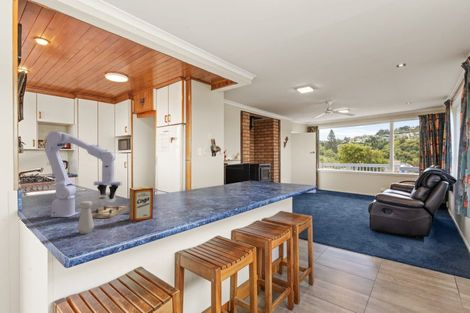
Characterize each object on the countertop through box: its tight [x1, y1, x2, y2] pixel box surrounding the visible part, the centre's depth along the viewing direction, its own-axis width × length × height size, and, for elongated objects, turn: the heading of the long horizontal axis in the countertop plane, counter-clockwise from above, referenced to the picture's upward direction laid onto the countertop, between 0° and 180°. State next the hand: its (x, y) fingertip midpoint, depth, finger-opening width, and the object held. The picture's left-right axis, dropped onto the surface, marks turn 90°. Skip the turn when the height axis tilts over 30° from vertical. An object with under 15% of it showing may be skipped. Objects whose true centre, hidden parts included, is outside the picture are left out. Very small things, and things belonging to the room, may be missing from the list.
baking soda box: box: [128, 186, 154, 223], centre depth 114 cm, size 10×6×16 cm
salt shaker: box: [77, 200, 95, 235], centre depth 93 cm, size 6×6×13 cm
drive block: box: [97, 191, 116, 206], centre depth 122 cm, size 4×9×5 cm, turn 179°
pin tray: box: [91, 205, 128, 219], centre depth 122 cm, size 13×17×3 cm
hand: (107, 198), depth 122 cm, fingers closed on drive block, 4 cm apart
